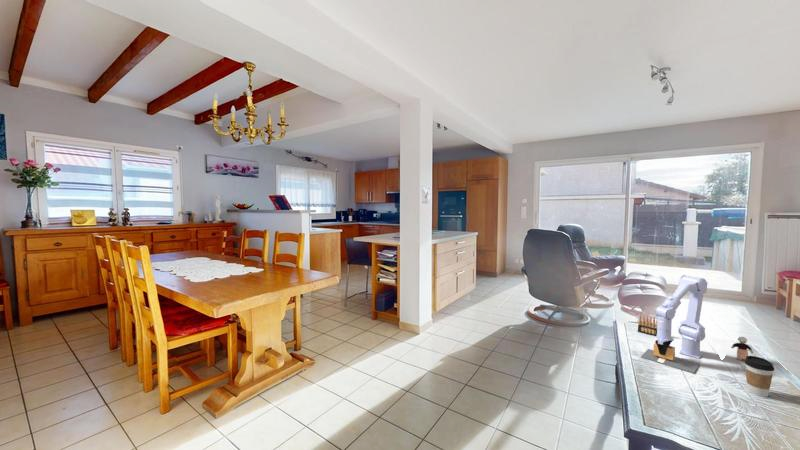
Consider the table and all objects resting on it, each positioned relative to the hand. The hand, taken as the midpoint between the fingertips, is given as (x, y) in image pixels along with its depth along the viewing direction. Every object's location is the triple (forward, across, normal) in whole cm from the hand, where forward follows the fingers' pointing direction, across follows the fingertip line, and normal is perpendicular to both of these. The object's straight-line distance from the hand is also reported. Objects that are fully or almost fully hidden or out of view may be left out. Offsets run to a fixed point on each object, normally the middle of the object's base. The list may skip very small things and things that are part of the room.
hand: (663, 353), depth 160 cm
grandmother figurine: (+3, +31, -26) cm, 41 cm away
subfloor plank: (+3, 0, -2) cm, 4 cm away
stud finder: (+2, 0, 0) cm, 2 cm away
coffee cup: (+3, -6, -33) cm, 34 cm away
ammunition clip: (+3, +34, +14) cm, 37 cm away
